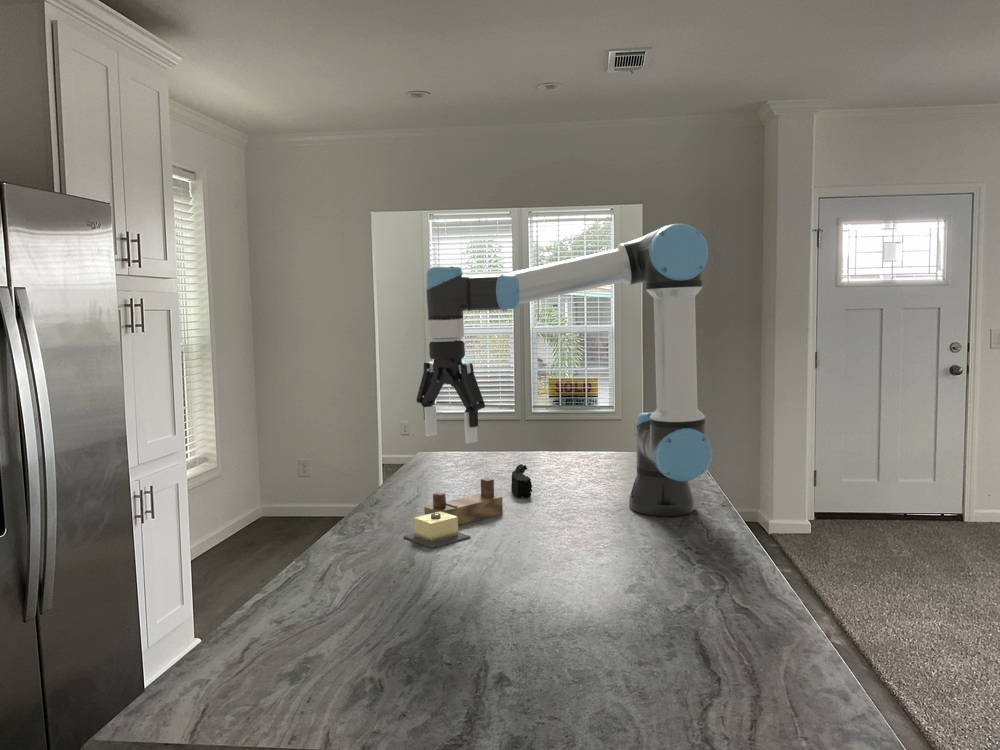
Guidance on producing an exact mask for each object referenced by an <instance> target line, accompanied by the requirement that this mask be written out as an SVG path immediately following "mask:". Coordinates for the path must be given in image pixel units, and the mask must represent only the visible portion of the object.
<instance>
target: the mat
mask: <svg viewBox="0 0 1000 750" xmlns="http://www.w3.org/2000/svg"><path fill="white" fill-rule="evenodd" d="M467 538H469V539H471V536H470V535H468V534H465V533H462V532H459V531H458V536H454V537H451V538H447V539H443V540H440V541H436V542H432V543H430V542H428V541H425V540H423V539H420V538H417V537H415V536H414V532H413V533H410V534H406V535H403V539H406V540H408V541H411V542H413V543H416V544H418V543H419V544H418V545H421V546H423V545H424V547H426V546H427V548H428V547H429V548H428V549H431V548H433V549H436V548H435V547H437V548H439V547H438V546H440V547H443V546H442V545H444V546H446V545H445V544H447V545H450V544H449V543H451V544H454V543H457V542H456V541H458V542H461V541H460V540H462V541H464V540H463V539H465V540H468V539H467ZM453 542H454V543H453Z"/></svg>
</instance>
